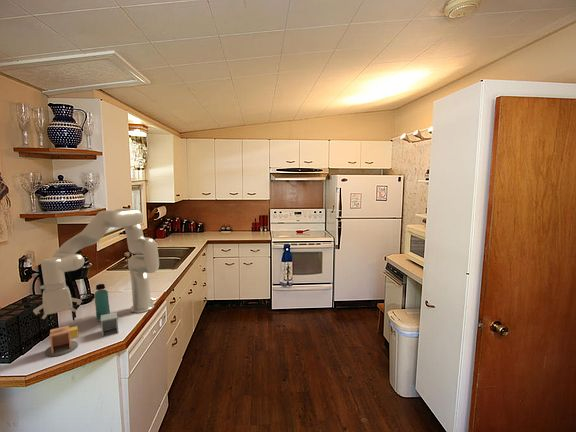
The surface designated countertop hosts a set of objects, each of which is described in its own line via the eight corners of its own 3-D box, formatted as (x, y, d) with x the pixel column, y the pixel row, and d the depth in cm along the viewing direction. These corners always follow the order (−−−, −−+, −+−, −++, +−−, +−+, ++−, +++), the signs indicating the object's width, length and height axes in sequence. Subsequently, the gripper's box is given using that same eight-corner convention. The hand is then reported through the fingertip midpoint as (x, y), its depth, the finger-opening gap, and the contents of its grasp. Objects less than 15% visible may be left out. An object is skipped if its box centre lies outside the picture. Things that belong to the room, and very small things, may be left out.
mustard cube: (68, 335, 154) (67, 328, 153) (78, 333, 156) (77, 325, 155) (68, 339, 150) (67, 331, 150) (78, 336, 153) (77, 329, 152)
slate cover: (102, 330, 158) (100, 315, 157) (118, 327, 162) (116, 312, 161) (102, 336, 152) (100, 320, 151) (118, 332, 156) (117, 317, 155)
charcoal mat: (68, 340, 150) (68, 338, 149) (83, 346, 144) (83, 344, 144) (39, 352, 139) (39, 350, 139) (54, 359, 133) (53, 357, 133)
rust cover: (52, 346, 142) (50, 329, 141) (71, 341, 146) (69, 325, 145) (51, 353, 136) (49, 336, 136) (71, 348, 140) (69, 331, 140)
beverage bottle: (113, 317, 173) (110, 282, 170) (106, 323, 166) (103, 286, 164) (100, 318, 173) (97, 282, 170) (93, 323, 166) (90, 286, 163)
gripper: (29, 293, 130) (35, 332, 133) (79, 283, 140) (84, 320, 142) (30, 288, 136) (36, 325, 139) (78, 279, 146) (83, 314, 149)
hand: (60, 322), depth 141 cm, fingers open, 9 cm apart
